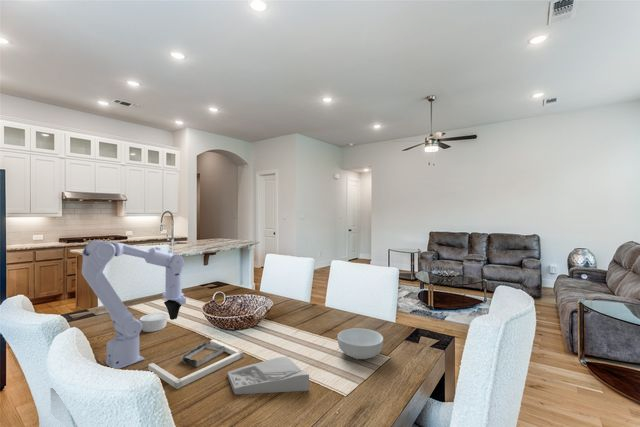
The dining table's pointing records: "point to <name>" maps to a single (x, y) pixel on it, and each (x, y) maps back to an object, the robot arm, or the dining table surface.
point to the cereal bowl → (360, 342)
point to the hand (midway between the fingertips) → (173, 318)
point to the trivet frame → (202, 372)
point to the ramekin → (153, 322)
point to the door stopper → (269, 377)
